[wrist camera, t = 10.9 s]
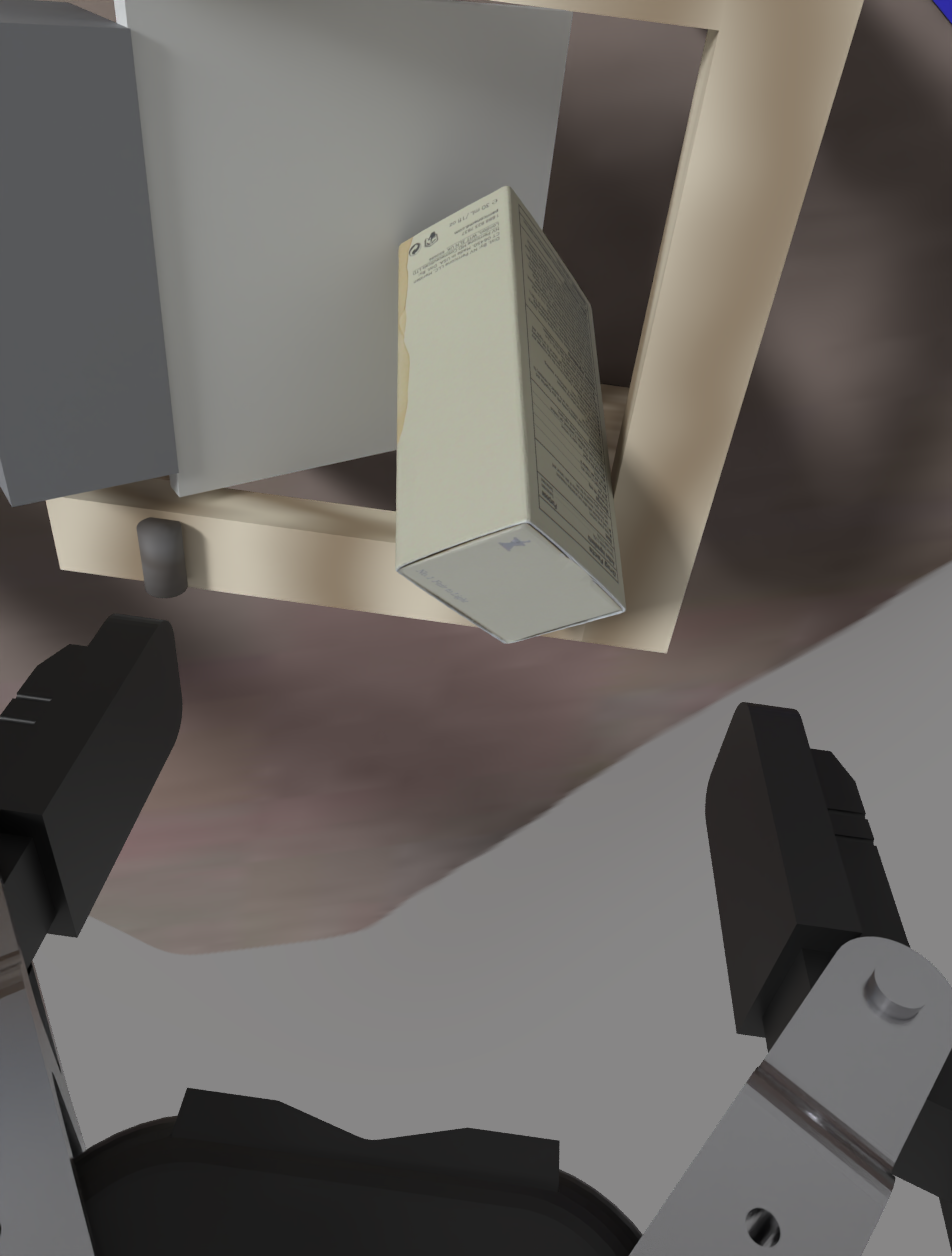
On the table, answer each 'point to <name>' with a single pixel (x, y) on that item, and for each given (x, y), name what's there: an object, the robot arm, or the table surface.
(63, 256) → the grey flat block
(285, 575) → the stand
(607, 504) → the skincare box
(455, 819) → the table surface
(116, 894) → the table surface
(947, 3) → the booklet
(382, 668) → the table surface
